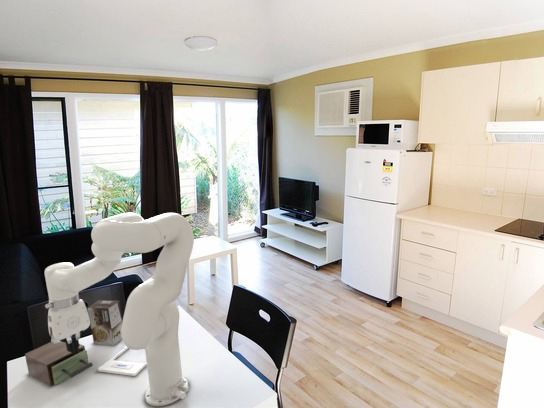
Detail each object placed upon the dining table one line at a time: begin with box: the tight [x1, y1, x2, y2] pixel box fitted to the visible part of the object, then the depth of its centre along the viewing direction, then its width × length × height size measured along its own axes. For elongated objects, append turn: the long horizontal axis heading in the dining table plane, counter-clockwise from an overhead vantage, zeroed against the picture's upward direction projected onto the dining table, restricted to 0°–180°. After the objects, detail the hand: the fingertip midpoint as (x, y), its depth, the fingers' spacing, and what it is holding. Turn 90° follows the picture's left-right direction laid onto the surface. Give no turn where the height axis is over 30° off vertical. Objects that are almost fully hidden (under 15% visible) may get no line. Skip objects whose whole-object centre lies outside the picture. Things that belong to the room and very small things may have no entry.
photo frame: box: [97, 345, 147, 377], centre depth 130 cm, size 15×1×18 cm
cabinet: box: [24, 341, 86, 387], centre depth 123 cm, size 14×12×8 cm
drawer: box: [50, 349, 94, 386], centre depth 121 cm, size 19×10×6 cm, turn 65°
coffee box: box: [87, 299, 123, 346], centre depth 140 cm, size 9×6×16 cm
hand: (73, 351), depth 117 cm, fingers closed
